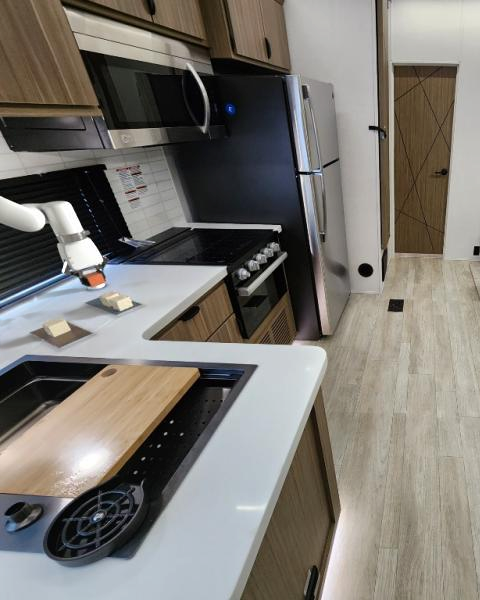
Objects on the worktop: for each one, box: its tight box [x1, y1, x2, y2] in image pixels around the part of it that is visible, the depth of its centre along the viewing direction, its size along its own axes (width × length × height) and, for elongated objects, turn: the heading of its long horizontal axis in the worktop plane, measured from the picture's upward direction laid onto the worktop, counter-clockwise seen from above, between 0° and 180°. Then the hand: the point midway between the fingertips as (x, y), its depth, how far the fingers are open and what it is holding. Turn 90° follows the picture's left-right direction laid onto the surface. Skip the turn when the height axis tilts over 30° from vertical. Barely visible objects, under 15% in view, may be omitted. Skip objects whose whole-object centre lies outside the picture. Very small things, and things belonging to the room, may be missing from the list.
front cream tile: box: [41, 317, 71, 337], centre depth 109 cm, size 4×4×4 cm
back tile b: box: [98, 290, 121, 307], centre depth 126 cm, size 4×4×4 cm
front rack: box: [29, 321, 94, 349], centre depth 110 cm, size 20×9×1 cm, turn 64°
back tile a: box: [109, 294, 133, 311], centre depth 124 cm, size 4×4×4 cm
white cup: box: [82, 268, 106, 291], centre depth 140 cm, size 7×7×7 cm
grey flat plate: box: [84, 296, 143, 316], centre depth 127 cm, size 22×9×1 cm, turn 64°
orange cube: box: [84, 272, 107, 287], centre depth 126 cm, size 4×4×4 cm
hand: (95, 282), depth 127 cm, fingers closed on orange cube, 4 cm apart
